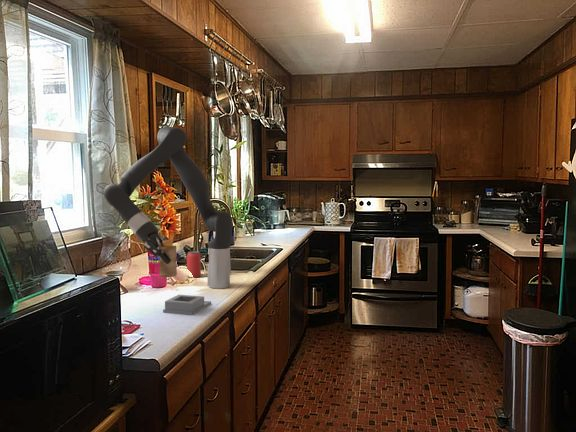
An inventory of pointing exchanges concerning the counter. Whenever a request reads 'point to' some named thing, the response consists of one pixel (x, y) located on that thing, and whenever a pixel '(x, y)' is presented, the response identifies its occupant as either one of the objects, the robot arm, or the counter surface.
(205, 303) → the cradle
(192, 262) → the beer can
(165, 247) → the brown bottle
